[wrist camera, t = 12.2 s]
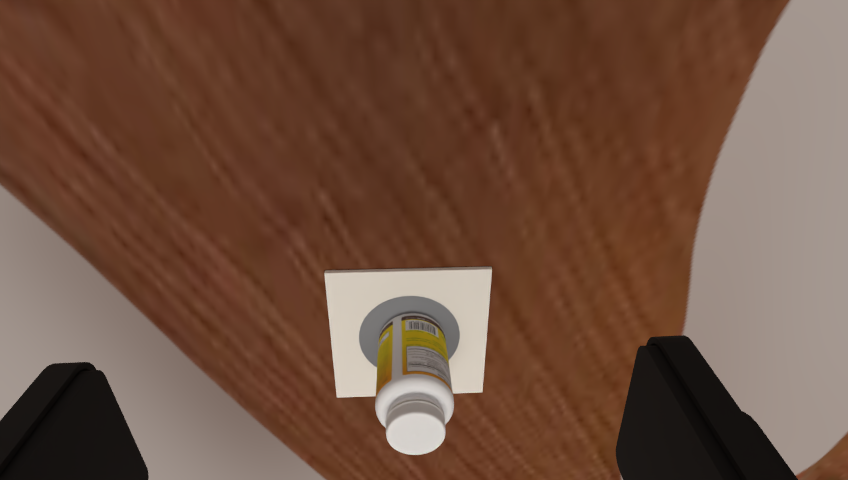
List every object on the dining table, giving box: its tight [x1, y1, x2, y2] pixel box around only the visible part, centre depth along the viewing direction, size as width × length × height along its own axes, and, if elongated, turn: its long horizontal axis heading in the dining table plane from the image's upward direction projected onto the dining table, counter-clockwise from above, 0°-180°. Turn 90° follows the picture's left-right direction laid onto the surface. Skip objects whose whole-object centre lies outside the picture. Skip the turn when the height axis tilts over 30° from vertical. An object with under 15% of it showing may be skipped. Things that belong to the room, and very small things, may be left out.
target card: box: [324, 267, 492, 398], centre depth 44 cm, size 13×13×1 cm
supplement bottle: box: [375, 313, 454, 455], centre depth 39 cm, size 6×6×10 cm
